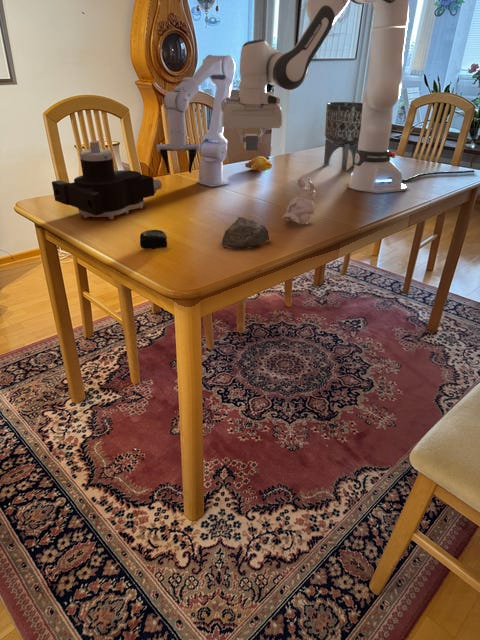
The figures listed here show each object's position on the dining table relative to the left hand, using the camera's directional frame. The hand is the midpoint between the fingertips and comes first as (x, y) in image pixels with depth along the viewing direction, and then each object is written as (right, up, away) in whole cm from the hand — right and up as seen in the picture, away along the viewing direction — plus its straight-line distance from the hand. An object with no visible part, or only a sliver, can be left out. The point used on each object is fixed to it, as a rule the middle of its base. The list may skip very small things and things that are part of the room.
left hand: (179, 172), depth 161 cm
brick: (+25, +7, -4) cm, 27 cm away
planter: (+69, +19, +50) cm, 87 cm away
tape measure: (0, -34, -43) cm, 55 cm away
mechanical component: (-18, -17, -15) cm, 29 cm away
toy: (+31, +14, +41) cm, 53 cm away
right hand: (+26, +9, -5) cm, 27 cm away
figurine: (+40, -23, -23) cm, 51 cm away
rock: (+24, -32, -39) cm, 56 cm away
